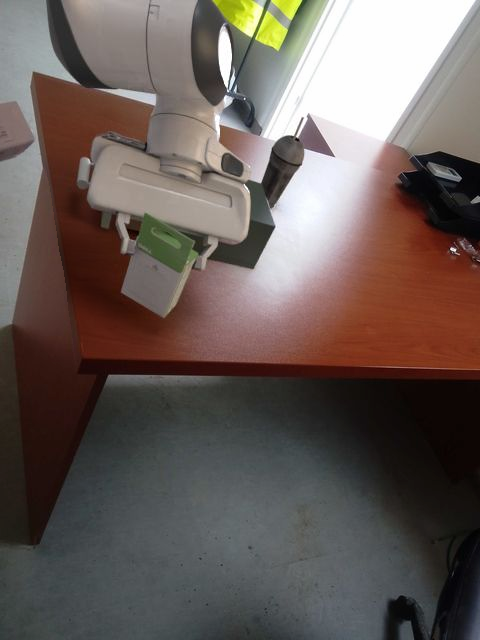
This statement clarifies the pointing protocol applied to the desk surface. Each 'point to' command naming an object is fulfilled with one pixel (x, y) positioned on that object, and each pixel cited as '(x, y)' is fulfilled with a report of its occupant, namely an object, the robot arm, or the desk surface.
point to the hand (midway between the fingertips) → (163, 262)
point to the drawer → (83, 184)
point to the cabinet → (256, 237)
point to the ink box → (159, 266)
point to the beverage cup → (282, 166)
